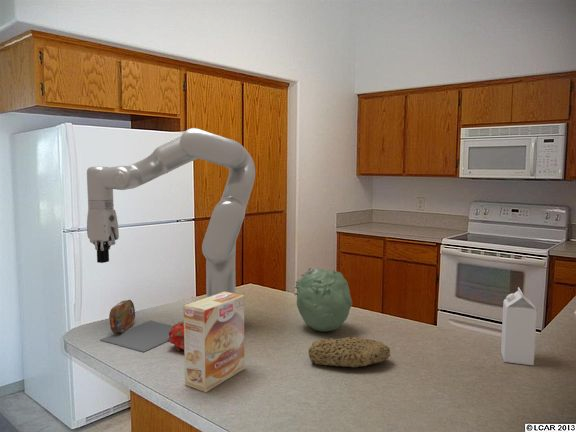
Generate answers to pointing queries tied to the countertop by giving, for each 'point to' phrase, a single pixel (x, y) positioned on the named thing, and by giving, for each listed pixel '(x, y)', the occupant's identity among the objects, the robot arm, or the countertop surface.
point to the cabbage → (323, 299)
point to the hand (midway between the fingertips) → (103, 261)
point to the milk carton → (518, 329)
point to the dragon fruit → (177, 335)
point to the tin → (122, 316)
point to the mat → (141, 336)
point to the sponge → (348, 352)
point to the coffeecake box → (213, 340)
